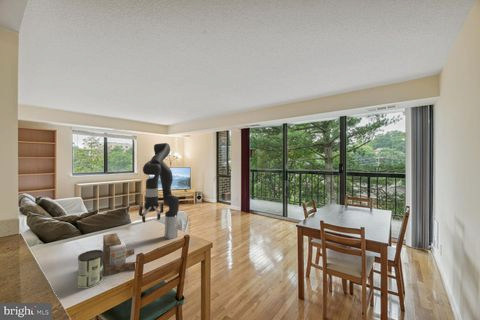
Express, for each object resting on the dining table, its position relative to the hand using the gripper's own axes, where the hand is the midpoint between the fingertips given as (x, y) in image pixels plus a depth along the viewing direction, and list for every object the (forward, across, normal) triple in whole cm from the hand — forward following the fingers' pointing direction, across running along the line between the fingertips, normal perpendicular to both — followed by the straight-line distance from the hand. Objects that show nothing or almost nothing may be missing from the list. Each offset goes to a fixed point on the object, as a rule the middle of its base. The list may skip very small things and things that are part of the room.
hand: (151, 220), depth 132 cm
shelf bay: (+23, +16, 0) cm, 28 cm away
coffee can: (+23, +32, +10) cm, 40 cm away
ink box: (+23, +19, -1) cm, 30 cm away
